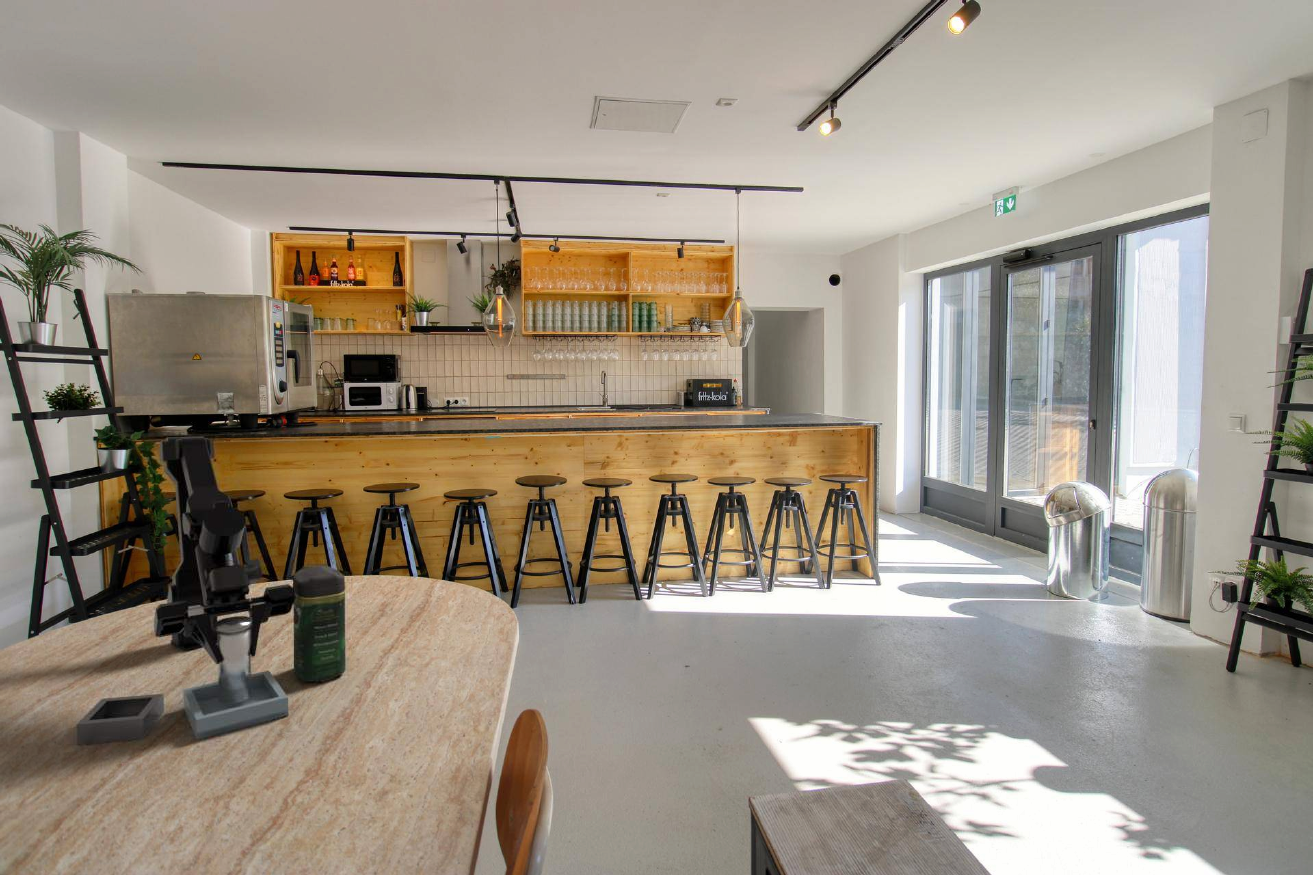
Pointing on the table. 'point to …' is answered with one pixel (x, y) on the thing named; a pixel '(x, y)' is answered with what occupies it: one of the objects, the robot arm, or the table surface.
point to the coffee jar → (319, 623)
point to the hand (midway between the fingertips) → (236, 658)
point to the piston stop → (234, 659)
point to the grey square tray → (120, 719)
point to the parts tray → (234, 707)
